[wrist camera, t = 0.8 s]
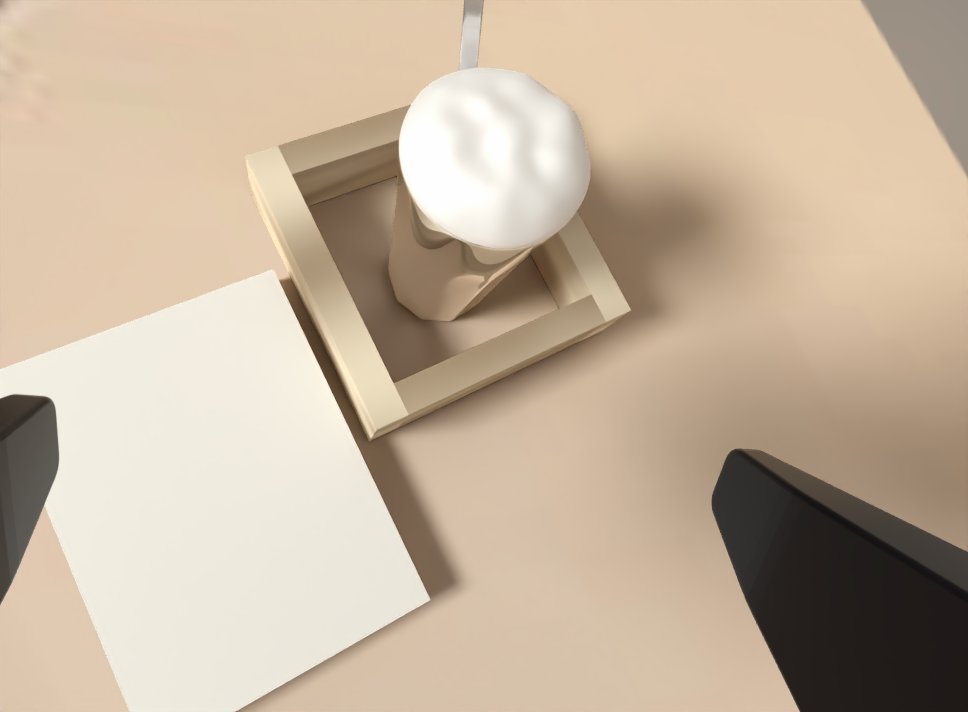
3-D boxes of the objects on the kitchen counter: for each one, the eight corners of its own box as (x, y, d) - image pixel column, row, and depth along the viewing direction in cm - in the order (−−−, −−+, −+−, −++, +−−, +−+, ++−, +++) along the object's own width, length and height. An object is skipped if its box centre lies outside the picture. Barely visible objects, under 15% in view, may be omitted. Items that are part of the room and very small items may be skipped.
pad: (424, 597, 21) (430, 599, 20) (157, 749, 19) (149, 760, 18) (274, 280, 22) (273, 268, 21) (5, 380, 20) (-10, 372, 19)
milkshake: (470, 185, 25) (570, -29, 16) (517, 323, 24) (652, 185, 15) (346, 207, 24) (373, -11, 14) (390, 356, 23) (450, 226, 13)
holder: (600, 331, 25) (631, 310, 22) (369, 441, 22) (376, 429, 20) (486, 118, 26) (504, 75, 24) (251, 195, 23) (245, 155, 21)
